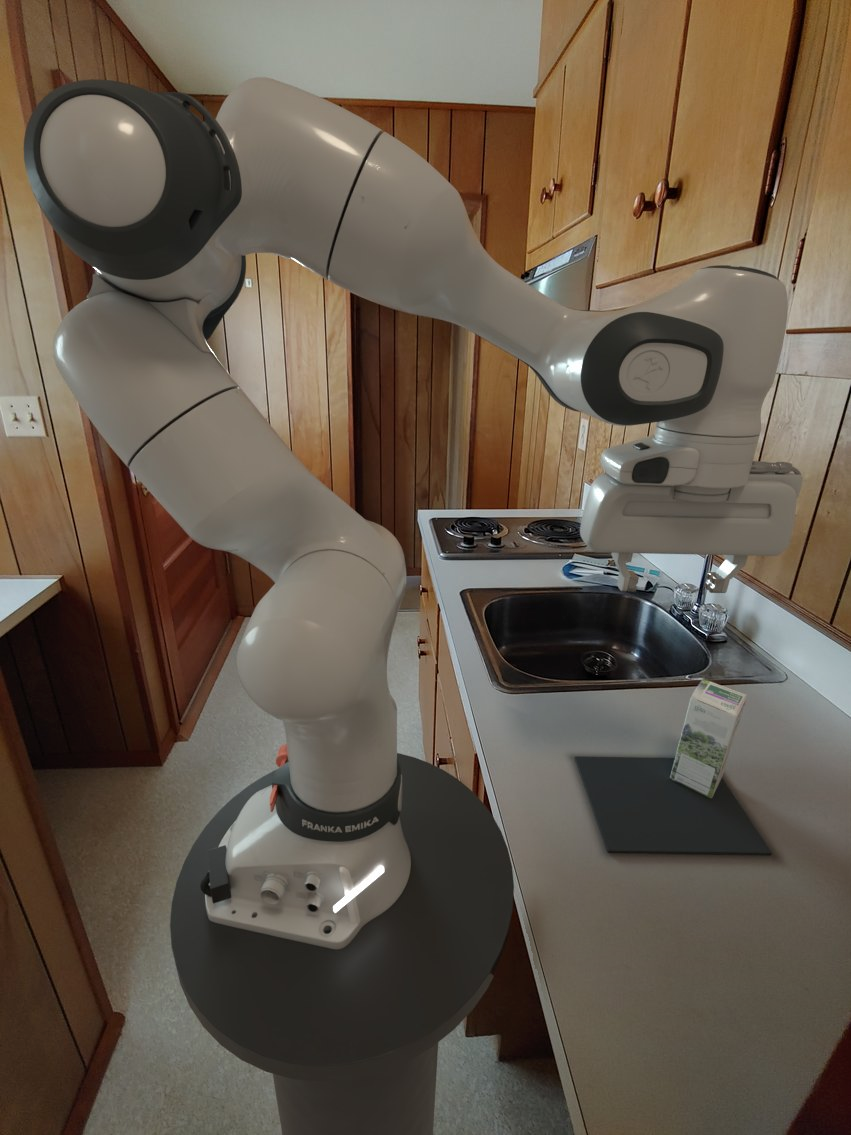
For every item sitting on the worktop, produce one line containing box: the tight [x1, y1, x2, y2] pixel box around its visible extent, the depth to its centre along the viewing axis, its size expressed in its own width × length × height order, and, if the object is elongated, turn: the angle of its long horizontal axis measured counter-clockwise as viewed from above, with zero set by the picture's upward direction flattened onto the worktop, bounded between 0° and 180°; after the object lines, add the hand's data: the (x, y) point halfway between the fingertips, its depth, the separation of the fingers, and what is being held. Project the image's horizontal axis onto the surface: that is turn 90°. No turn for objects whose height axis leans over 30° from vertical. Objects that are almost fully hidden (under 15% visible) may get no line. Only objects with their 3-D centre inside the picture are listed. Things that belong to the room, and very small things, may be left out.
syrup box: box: [670, 678, 748, 798], centre depth 75 cm, size 6×6×14 cm
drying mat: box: [574, 755, 773, 856], centre depth 74 cm, size 20×16×1 cm
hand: (670, 590), depth 58 cm, fingers open, 8 cm apart
